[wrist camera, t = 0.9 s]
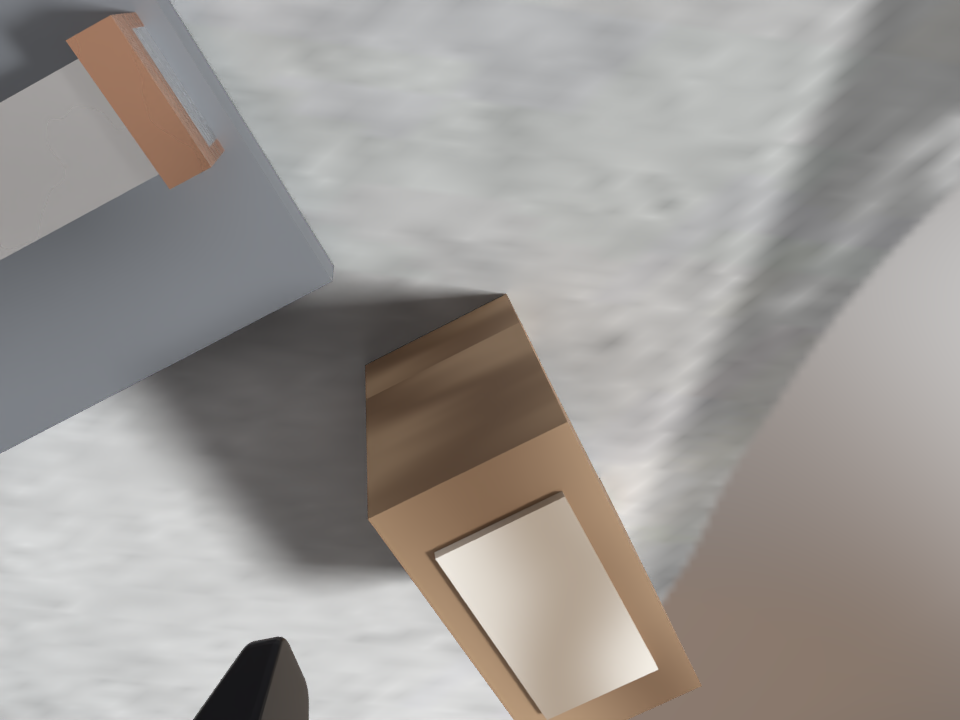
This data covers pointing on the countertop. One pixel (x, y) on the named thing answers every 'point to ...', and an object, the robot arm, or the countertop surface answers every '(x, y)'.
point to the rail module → (513, 526)
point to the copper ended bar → (96, 132)
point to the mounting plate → (140, 242)
